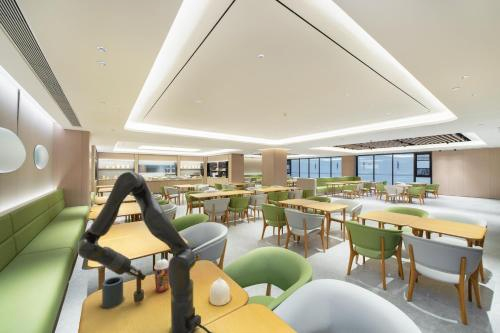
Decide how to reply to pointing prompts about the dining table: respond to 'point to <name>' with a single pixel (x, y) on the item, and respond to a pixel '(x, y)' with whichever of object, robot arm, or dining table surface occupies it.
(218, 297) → the white rounded dome
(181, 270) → the robot arm
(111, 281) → the jar
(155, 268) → the smoothie
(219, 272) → the dining table surface
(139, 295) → the brush
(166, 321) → the dining table surface
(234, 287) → the dining table surface
